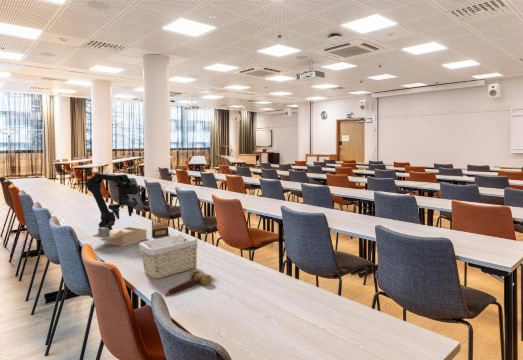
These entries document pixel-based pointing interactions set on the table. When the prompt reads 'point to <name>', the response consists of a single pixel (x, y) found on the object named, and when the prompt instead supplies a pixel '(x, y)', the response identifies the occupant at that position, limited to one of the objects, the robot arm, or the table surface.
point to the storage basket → (169, 255)
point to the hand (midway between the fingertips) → (124, 217)
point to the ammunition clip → (159, 228)
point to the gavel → (191, 282)
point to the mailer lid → (112, 233)
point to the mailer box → (129, 237)
